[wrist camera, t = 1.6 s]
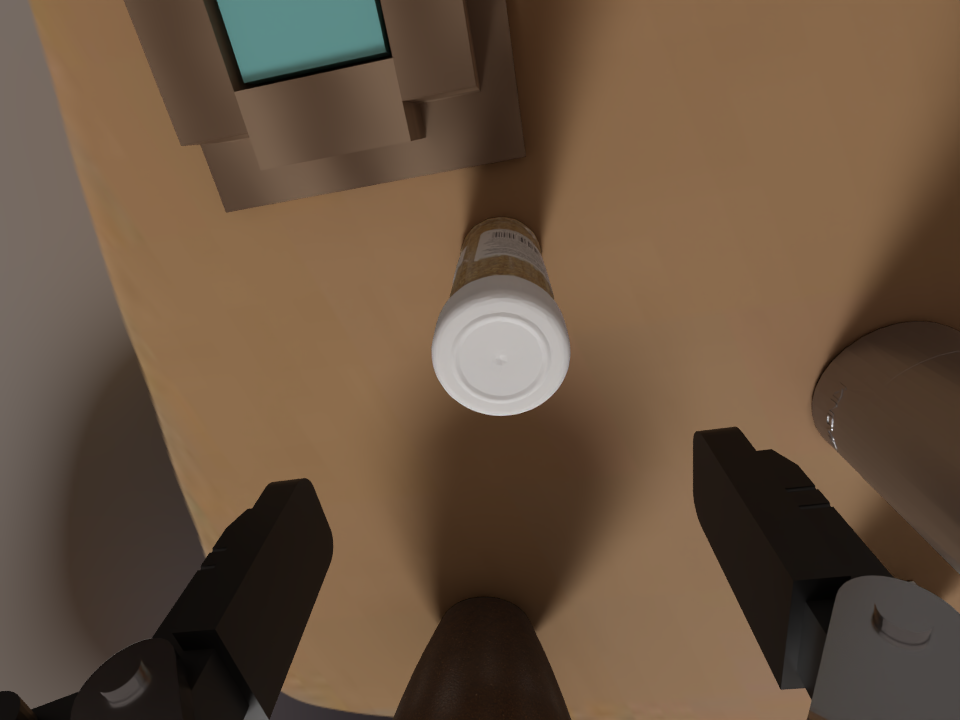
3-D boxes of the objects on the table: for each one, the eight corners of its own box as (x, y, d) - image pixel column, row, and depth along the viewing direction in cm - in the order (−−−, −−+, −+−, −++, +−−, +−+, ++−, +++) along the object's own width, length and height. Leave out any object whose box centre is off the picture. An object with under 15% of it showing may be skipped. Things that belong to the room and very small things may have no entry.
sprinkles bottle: (444, 261, 28) (400, 366, 16) (497, 196, 27) (492, 260, 15) (505, 311, 30) (507, 444, 17) (560, 252, 28) (603, 353, 16)
